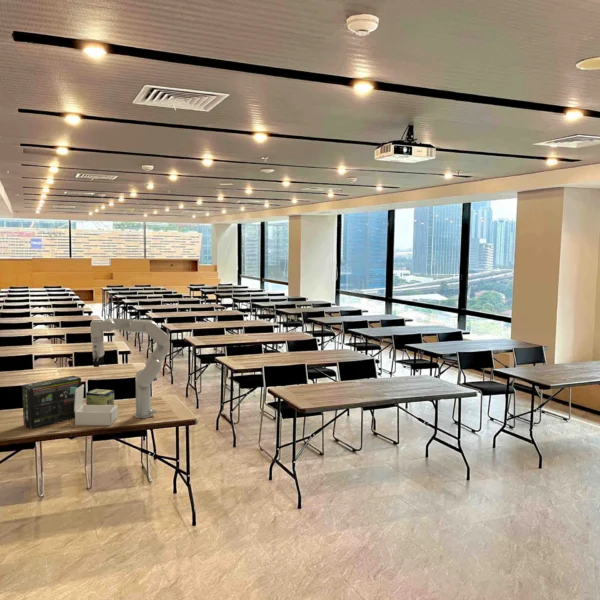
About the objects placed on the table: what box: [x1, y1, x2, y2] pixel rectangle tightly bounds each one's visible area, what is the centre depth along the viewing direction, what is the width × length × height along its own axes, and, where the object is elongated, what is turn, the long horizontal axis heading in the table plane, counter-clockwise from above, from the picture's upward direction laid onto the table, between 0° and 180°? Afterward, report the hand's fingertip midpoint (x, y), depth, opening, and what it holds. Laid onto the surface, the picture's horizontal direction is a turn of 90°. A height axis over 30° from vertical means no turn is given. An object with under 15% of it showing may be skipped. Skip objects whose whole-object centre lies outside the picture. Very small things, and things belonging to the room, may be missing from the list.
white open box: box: [74, 404, 119, 427], centre depth 371 cm, size 23×16×9 cm
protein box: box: [85, 388, 115, 405], centre depth 388 cm, size 10×16×16 cm
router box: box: [21, 375, 82, 430], centre depth 369 cm, size 36×11×27 cm, turn 139°
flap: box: [70, 384, 85, 412], centre depth 369 cm, size 14×15×6 cm
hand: (98, 365), depth 373 cm, fingers open, 9 cm apart
